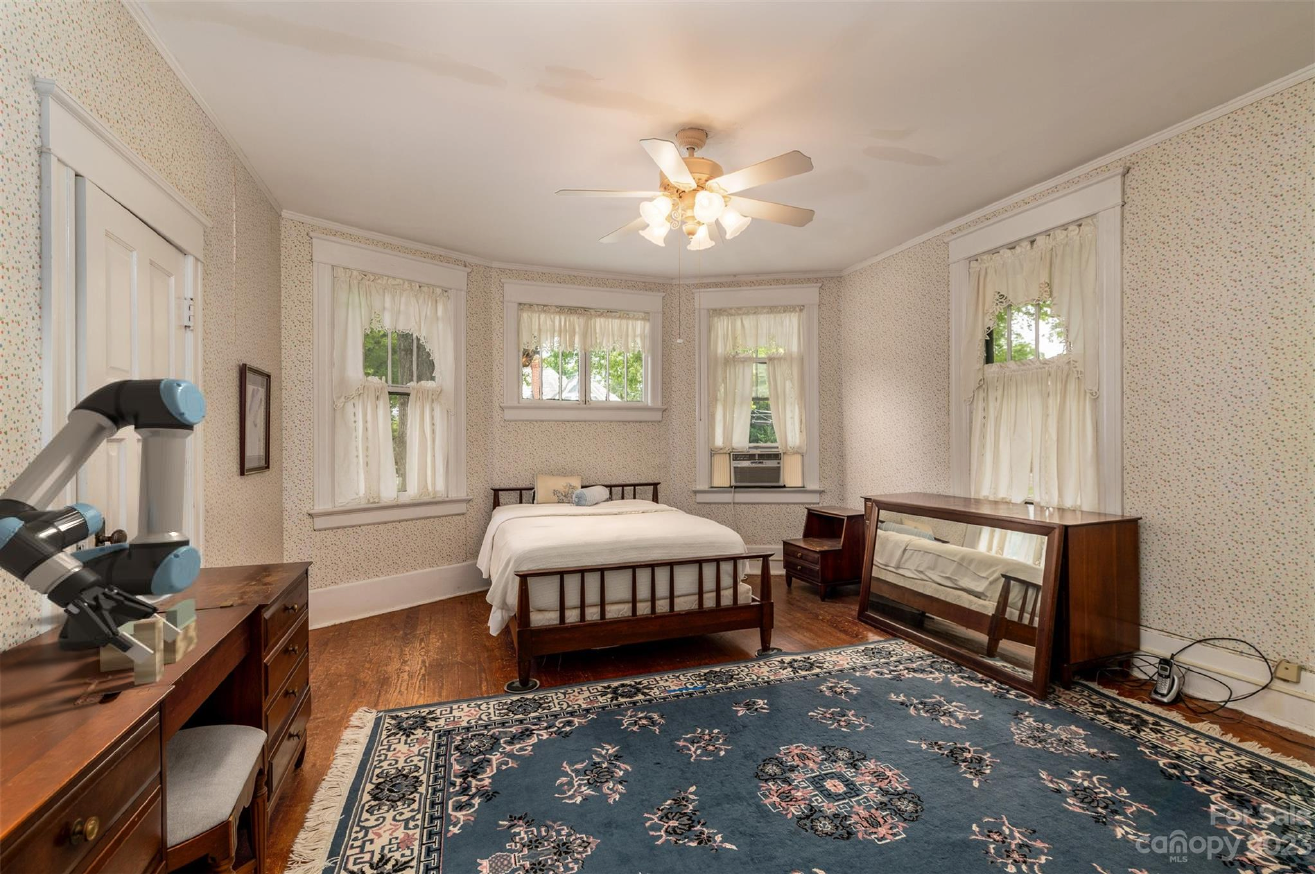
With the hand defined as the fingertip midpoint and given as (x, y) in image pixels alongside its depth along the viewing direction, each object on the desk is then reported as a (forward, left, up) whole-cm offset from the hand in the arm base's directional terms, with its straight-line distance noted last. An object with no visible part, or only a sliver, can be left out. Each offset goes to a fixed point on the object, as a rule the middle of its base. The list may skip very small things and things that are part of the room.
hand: (162, 647), depth 120 cm
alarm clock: (-69, -28, -6) cm, 75 cm away
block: (+1, -2, -6) cm, 6 cm away
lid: (-15, -7, 0) cm, 17 cm away
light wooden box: (-15, -7, -6) cm, 18 cm away
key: (+2, -10, -7) cm, 12 cm away
